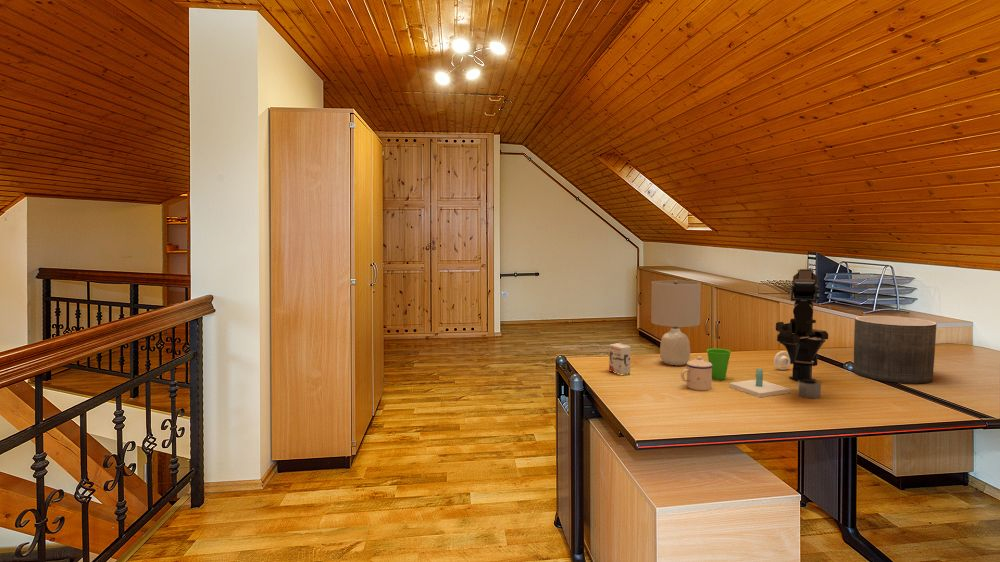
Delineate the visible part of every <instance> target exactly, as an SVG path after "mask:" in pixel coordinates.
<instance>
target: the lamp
mask: <svg viewBox="0 0 1000 562" xmlns="http://www.w3.org/2000/svg"><path fill="white" fill-rule="evenodd" d="M701 285H702V283H701V282H700V281H692V280H655V281H651V309H650V310H651V311H650V313H651V316H650V317H651V319H650V322H651V324H653V325H656V326H662V327H671V328H670V330H669V331H668V332H665V333H664V334H662V337H661V341H660V344H659V345H660V347H659V355H660V359H661V361H662V362H663V363H665V364H666V365H670V366H674V365H675V366H676V367H677V366H684V365H685V364H687V362H688V361H690V359H691V358H690V357H691V346H690V345H691V344H690V340H689V337H688V335H687V334H685V333H683V332H682V331H681V329H680V328H686V327H689V328H690V327H697V326H699V325H701V294H702V293H701V292H702V290H701V288H702V287H701Z"/></svg>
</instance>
